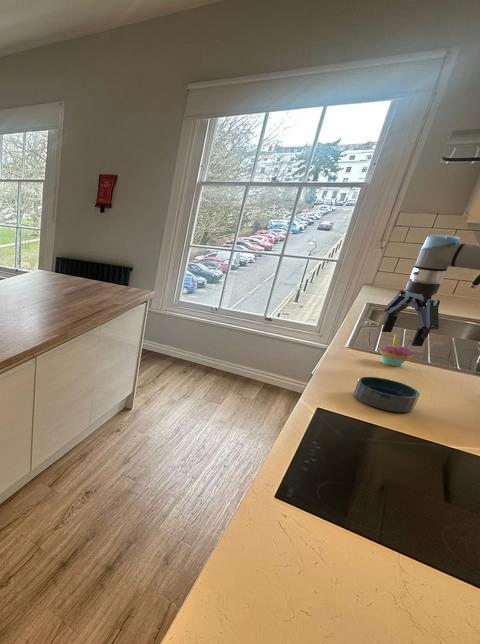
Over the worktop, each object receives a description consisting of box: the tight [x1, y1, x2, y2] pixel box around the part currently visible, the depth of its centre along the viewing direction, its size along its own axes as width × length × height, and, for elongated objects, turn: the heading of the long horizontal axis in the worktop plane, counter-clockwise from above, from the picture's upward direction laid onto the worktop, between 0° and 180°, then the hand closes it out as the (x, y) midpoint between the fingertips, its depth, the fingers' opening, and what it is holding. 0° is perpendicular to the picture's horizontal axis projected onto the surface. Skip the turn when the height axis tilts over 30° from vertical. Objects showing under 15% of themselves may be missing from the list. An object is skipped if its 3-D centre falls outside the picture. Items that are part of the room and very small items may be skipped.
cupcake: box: [379, 331, 414, 367], centre depth 146 cm, size 9×8×12 cm
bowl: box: [353, 376, 421, 413], centre depth 122 cm, size 13×13×6 cm
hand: (400, 338), depth 144 cm, fingers open, 13 cm apart
